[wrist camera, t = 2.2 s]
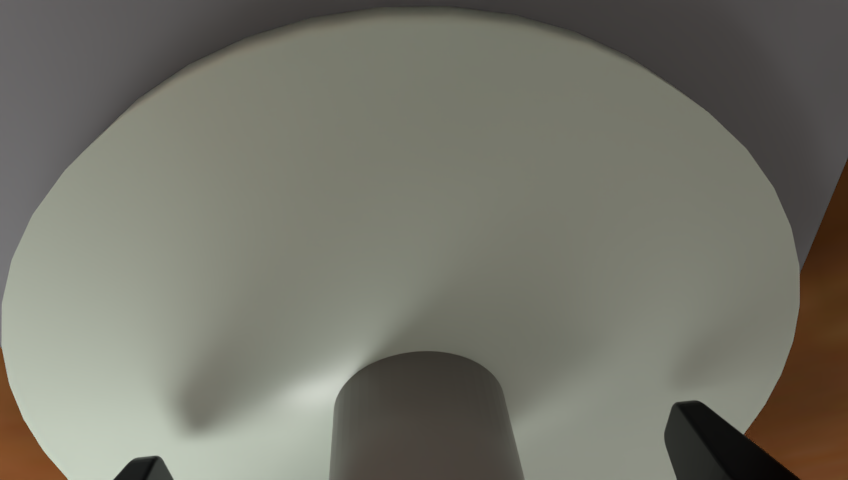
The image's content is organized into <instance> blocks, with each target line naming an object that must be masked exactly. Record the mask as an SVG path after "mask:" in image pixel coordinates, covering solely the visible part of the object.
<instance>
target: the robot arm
mask: <svg viewBox="0 0 848 480" xmlns="http://www.w3.org/2000/svg"><path fill="white" fill-rule="evenodd" d="M664 442H665V446H666V449H667V452H668V455H669V458H670V461H671V464H672V467H673V470H674V473H675V476H676V479H677V480H801V479H799V478H798V477H797V476H795V475H794V474H793V473H792V472H790V471H789V470H788V469H787V468H785V467H784V466H783V465H781V464H780V463H779V462H778V461H776V460H775V459H774V458H773V457H771V456H770V455H769V454H768V453H766V452H765V451H764V450H762V449H761V448H760V447H759V446H757V445H756V444H755V443H754V442H752V441H751V440H750V439H748V438H747V437H746V436H745V435H743V434H742V433H741V432H740V431H738V430H737V429H736V428H735V427H733V426H732V425H731V424H729V423H728V422H727V421H726V420H724V419H723V418H722V417H721V416H719V415H718V414H717V413H715V412H714V411H713V410H712V409H710V408H709V407H708V406H707V405H705V404H704V403H702V402H700V401H697V400H691V401H681V402H676V403H674V404H673V405H672V408H671V411H670V414H669V417H668V421H667V424H666V427H665V431H664ZM113 480H174V479H173V477H172V475H171V473H170V472H169V470H168V468H167V466H166V464H165V462H164V461H163V459H162V458H161V457H159V456H145V457H137V458H134V459H132V460H131V461H130V462H129V463H128V464H127V465H126V466H125V467H124V468H123V469H122V470H121V471H120V472H119V474H118V475H117V476H116V477H115V478H114V479H113Z"/></svg>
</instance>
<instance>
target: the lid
mask: <svg viewBox="0 0 848 480" xmlns="http://www.w3.org/2000/svg"><path fill="white" fill-rule="evenodd" d="M799 306H800V268H799V262H798V257H797V252H796V248H795V243H794V238H793V233H792V228H791V226H790V223H789V221H788V219H787V216H786V214H785V212H784V210H783V207H782V205H781V203H780V200H779V198H778V196H777V193H776V191H775V189H774V187H773V186H772V184H771V183H770V181H769V180H768V178H767V177H766V176H765V174H764V173H763V171H762V170H761V169H760V167H759V166H758V164H757V163H756V161H755V160H754V159H753V157H752V156H751V154H750V153H749V151H748V150H747V149H746V148H745V147H744V146H743V145H742V144H741V143H740V142H739V141H738V140H737V139H736V138H735V137H734V136H733V135H732V134H731V133H730V132H729V131H728V130H726V129H725V128H724V127H723V126H722V125H721V124H720V123H719V122H718V121H717V120H716V119H715V118H714V117H713V116H712V115H711V114H710V113H709V112H707V111H706V110H705V109H703V108H702V107H701V106H699V105H698V104H697V103H695V102H694V101H693V100H691V99H690V98H689V97H687V96H686V95H685V94H683V93H682V92H681V91H679V90H678V89H677V88H675V87H674V86H673V85H671V84H669V83H668V82H666V81H665V80H663V79H662V78H660V77H659V76H657V75H656V74H654V73H653V72H651V71H650V70H648V69H647V68H645V67H644V66H642V65H641V64H639V63H638V62H636V61H635V60H633V59H632V58H630V57H629V56H627V55H625V54H623V53H621V52H618V51H616V50H614V49H612V48H610V47H607V46H605V45H603V44H601V43H599V42H596V41H594V40H592V39H590V38H588V37H585V36H583V35H581V34H579V33H577V32H574V31H571V30H567V29H563V28H560V27H556V26H553V25H549V24H546V23H542V22H538V21H535V20H531V19H528V18H524V17H521V16H517V15H513V14H505V13H497V12H490V11H482V10H474V9H466V8H459V7H451V6H420V7H376V8H370V9H363V10H357V11H350V12H344V13H337V14H331V15H324V16H318V17H311V18H308V19H305V20H302V21H298V22H295V23H292V24H288V25H285V26H282V27H278V28H275V29H272V30H268V31H265V32H262V33H259V34H255V35H252V36H249V37H246V38H244V39H242V40H240V41H237V42H235V43H233V44H231V45H229V46H227V47H225V48H223V49H220V50H218V51H216V52H214V53H212V54H210V55H208V56H206V57H203V58H201V59H199V60H197V61H195V62H193V63H191V64H189V65H187V66H186V67H184V68H183V69H181V70H180V71H178V72H177V73H175V74H174V75H172V76H171V77H169V78H168V79H166V80H165V81H163V82H162V83H160V84H159V85H158V86H156V87H155V88H153V89H152V90H150V91H149V92H147V93H146V94H144V95H143V96H141V97H140V98H138V99H137V100H136V101H135V102H134V103H133V104H132V105H131V106H130V107H129V108H128V109H127V110H126V111H125V112H124V113H123V114H122V115H120V116H119V117H118V118H117V119H116V120H115V121H114V122H113V123H112V124H111V125H110V126H109V127H108V128H107V129H106V130H105V131H104V132H103V133H102V134H100V135H99V136H98V137H97V138H96V139H95V140H94V141H93V142H92V143H91V144H90V145H89V146H88V147H87V148H86V149H85V150H84V151H83V152H82V153H81V154H80V155H79V157H78V158H77V159H76V160H75V161H74V162H73V163H72V164H71V165H70V166H69V167H68V168H67V169H66V170H65V171H64V172H63V173H62V175H61V176H60V178H59V179H58V180H57V182H56V183H55V184H54V186H53V187H52V189H51V190H50V191H49V193H48V194H47V195H46V197H45V198H44V200H43V201H42V202H41V204H40V205H39V206H38V208H37V209H36V210H35V212H34V213H33V215H32V217H31V219H30V221H29V223H28V225H27V228H26V230H25V232H24V234H23V236H22V238H21V241H20V243H19V245H18V247H17V249H16V251H15V254H14V256H13V258H12V260H11V265H10V269H9V274H8V278H7V283H6V287H5V292H4V296H3V301H2V341H1V346H2V351H3V356H4V361H5V366H6V370H7V375H8V380H9V385H10V387H11V390H12V392H13V395H14V397H15V399H16V402H17V404H18V407H19V409H20V412H21V414H22V416H23V419H24V421H25V422H26V424H27V425H28V427H29V429H30V430H31V432H32V433H33V435H34V436H35V438H36V440H37V441H38V443H39V444H40V446H41V448H42V449H43V451H44V452H45V453H46V454H47V455H48V457H49V458H50V459H51V460H52V461H53V462H54V464H55V465H56V466H57V467H58V468H59V469H60V470H61V472H62V473H63V474H64V475H65V476H66V477H67V478H68V480H113V479H114V478H115V477H116V476H117V475H118V474H119V472H120V471H121V470H122V469H123V468H124V467H125V466H126V465H127V464H128V463H129V462H130V461H131V460H132V459H134V458H137V457H145V456H159V457H161V458H162V459H163V461H164V462H165V464H166V466H167V468H168V470H169V472H170V473H171V475H172V477H173V479H174V480H677V479H676V476H675V473H674V470H673V467H672V464H671V461H670V458H669V455H668V452H667V449H666V446H665V442H664V431H665V427H666V424H667V421H668V417H669V414H670V411H671V408H672V405H673V404H674V403H676V402H681V401H691V400H697V401H700V402H702V403H704V404H705V405H707V406H708V407H709V408H710V409H712V410H713V411H714V412H715V413H717V414H718V415H719V416H721V417H722V418H723V419H724V420H726V421H727V422H728V423H729V424H731V425H732V426H733V427H735V428H736V429H737V430H738V431H740V432H741V433H742V434H744V433H745V432H746V430H747V429H748V428H749V426H750V425H751V424H752V422H753V421H754V419H755V418H756V417H757V415H758V414H759V412H760V411H761V410H762V408H763V407H764V405H765V404H766V402H767V400H768V398H769V396H770V394H771V392H772V391H773V389H774V387H775V385H776V383H777V381H778V379H779V378H780V376H781V374H782V371H783V368H784V365H785V362H786V360H787V357H788V354H789V351H790V349H791V346H792V343H793V340H794V334H795V329H796V323H797V317H798V312H799Z"/></svg>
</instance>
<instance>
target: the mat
mask: <svg viewBox="0 0 848 480" xmlns="http://www.w3.org/2000/svg"><path fill="white" fill-rule="evenodd" d="M420 6H451V7H459V8H466V9H474V10H482V11H490V12H497V13H505V14H513V15H517V16H521V17H524V18H528V19H531V20H535V21H538V22H542V23H546V24H549V25H553V26H556V27H560V28H563V29H567V30H571V31H574V32H577V33H579V34H581V35H583V36H585V37H588V38H590V39H592V40H594V41H596V42H599V43H601V44H603V45H605V46H607V47H610V48H612V49H614V50H616V51H618V52H621V53H623V54H625V55H627V56H629V57H630V58H632V59H633V60H635V61H636V62H638V63H639V64H641V65H642V66H644V67H645V68H647V69H648V70H650V71H651V72H653V73H654V74H656V75H657V76H659V77H660V78H662V79H663V80H665V81H666V82H668V83H669V84H671V85H673V86H674V87H675V88H677V89H678V90H679V91H681V92H682V93H683V94H685V95H686V96H687V97H689V98H690V99H691V100H693V101H694V102H695V103H697V104H698V105H699V106H701V107H702V108H703V109H705V110H706V111H707V112H709V113H710V114H711V115H712V116H713V117H714V118H715V119H716V120H717V121H718V122H719V123H720V124H721V125H722V126H723V127H724V128H725V129H726V130H728V131H729V132H730V133H731V134H732V135H733V136H734V137H735V138H736V139H737V140H738V141H739V142H740V143H741V144H742V145H743V146H744V147H745V148H746V149H747V150H748V151H749V153H750V154H751V156H752V157H753V159H754V160H755V161H756V163H757V164H758V166H759V167H760V169H761V170H762V171H763V173H764V174H765V176H766V177H767V178H768V180H769V181H770V183H771V184H772V186H773V187H774V189H775V191H776V193H777V196H778V198H779V200H780V203H781V205H782V207H783V210H784V212H785V214H786V216H787V219H788V221H789V223H790V226H791V228H792V233H793V238H794V243H795V248H796V252H797V257H798V262H799V268H800V272H801V269H802V267H803V265H804V262H805V260H806V257H807V255H808V253H809V250H810V248H811V245H812V243H813V240H814V238H815V236H816V233H817V231H818V228H819V226H820V224H821V221H822V219H823V216H824V214H825V211H826V209H827V207H828V204H829V202H830V199H831V197H832V195H833V192H834V190H835V187H836V185H837V183H838V180H839V178H840V175H841V173H842V170H843V168H844V166H845V163H846V161H847V158H848V0H0V346H1V341H2V301H3V296H4V292H5V287H6V283H7V278H8V274H9V269H10V265H11V260H12V258H13V256H14V254H15V251H16V249H17V247H18V245H19V243H20V241H21V238H22V236H23V234H24V232H25V230H26V228H27V225H28V223H29V221H30V219H31V217H32V215H33V213H34V212H35V210H36V209H37V208H38V206H39V205H40V204H41V202H42V201H43V200H44V198H45V197H46V195H47V194H48V193H49V191H50V190H51V189H52V187H53V186H54V184H55V183H56V182H57V180H58V179H59V178H60V176H61V175H62V173H63V172H64V171H65V170H66V169H67V168H68V167H69V166H70V165H71V164H72V163H73V162H74V161H75V160H76V159H77V158H78V157H79V155H80V154H81V153H82V152H83V151H84V150H85V149H86V148H87V147H88V146H89V145H90V144H91V143H92V142H93V141H94V140H95V139H96V138H97V137H98V136H99V135H100V134H102V133H103V132H104V131H105V130H106V129H107V128H108V127H109V126H110V125H111V124H112V123H113V122H114V121H115V120H116V119H117V118H118V117H119V116H120V115H122V114H123V113H124V112H125V111H126V110H127V109H128V108H129V107H130V106H131V105H132V104H133V103H134V102H135V101H136V100H137V99H138V98H140V97H141V96H143V95H144V94H146V93H147V92H149V91H150V90H152V89H153V88H155V87H156V86H158V85H159V84H160V83H162V82H163V81H165V80H166V79H168V78H169V77H171V76H172V75H174V74H175V73H177V72H178V71H180V70H181V69H183V68H184V67H186V66H187V65H189V64H191V63H193V62H195V61H197V60H199V59H201V58H203V57H206V56H208V55H210V54H212V53H214V52H216V51H218V50H220V49H223V48H225V47H227V46H229V45H231V44H233V43H235V42H237V41H240V40H242V39H244V38H246V37H249V36H252V35H255V34H259V33H262V32H265V31H268V30H272V29H275V28H278V27H282V26H285V25H288V24H292V23H295V22H298V21H302V20H305V19H308V18H311V17H318V16H324V15H331V14H337V13H344V12H350V11H357V10H363V9H370V8H376V7H420ZM1 348H2V346H1Z"/></svg>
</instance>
